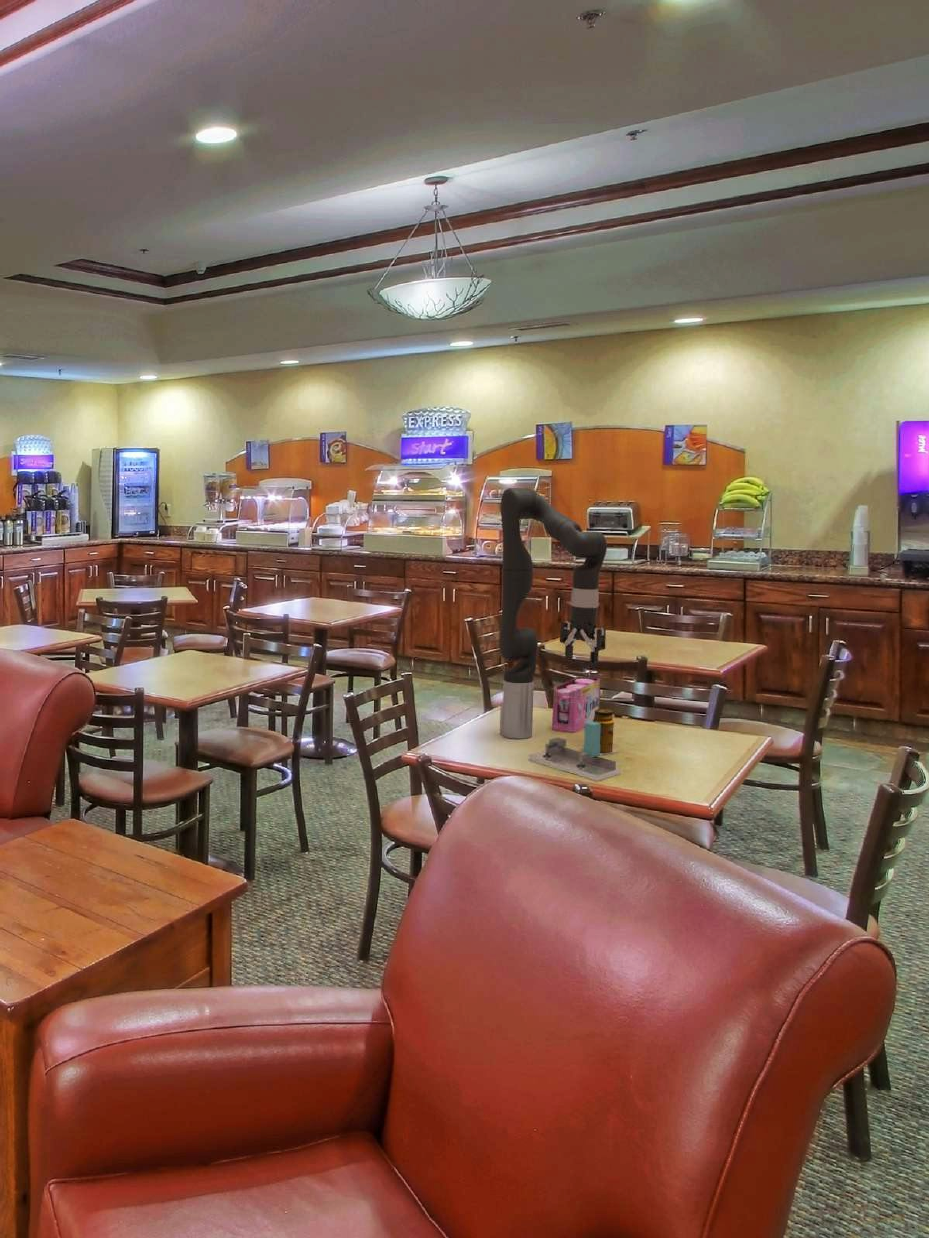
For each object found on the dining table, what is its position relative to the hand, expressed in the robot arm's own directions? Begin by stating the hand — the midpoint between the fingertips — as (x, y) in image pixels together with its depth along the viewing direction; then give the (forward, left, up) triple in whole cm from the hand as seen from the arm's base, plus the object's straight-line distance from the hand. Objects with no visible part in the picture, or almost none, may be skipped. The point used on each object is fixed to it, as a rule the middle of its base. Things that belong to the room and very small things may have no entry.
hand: (581, 661), depth 247 cm
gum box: (-25, +30, -28) cm, 48 cm away
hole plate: (+5, -8, -28) cm, 29 cm away
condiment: (0, +10, -28) cm, 30 cm away
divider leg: (+9, -7, -26) cm, 28 cm away
